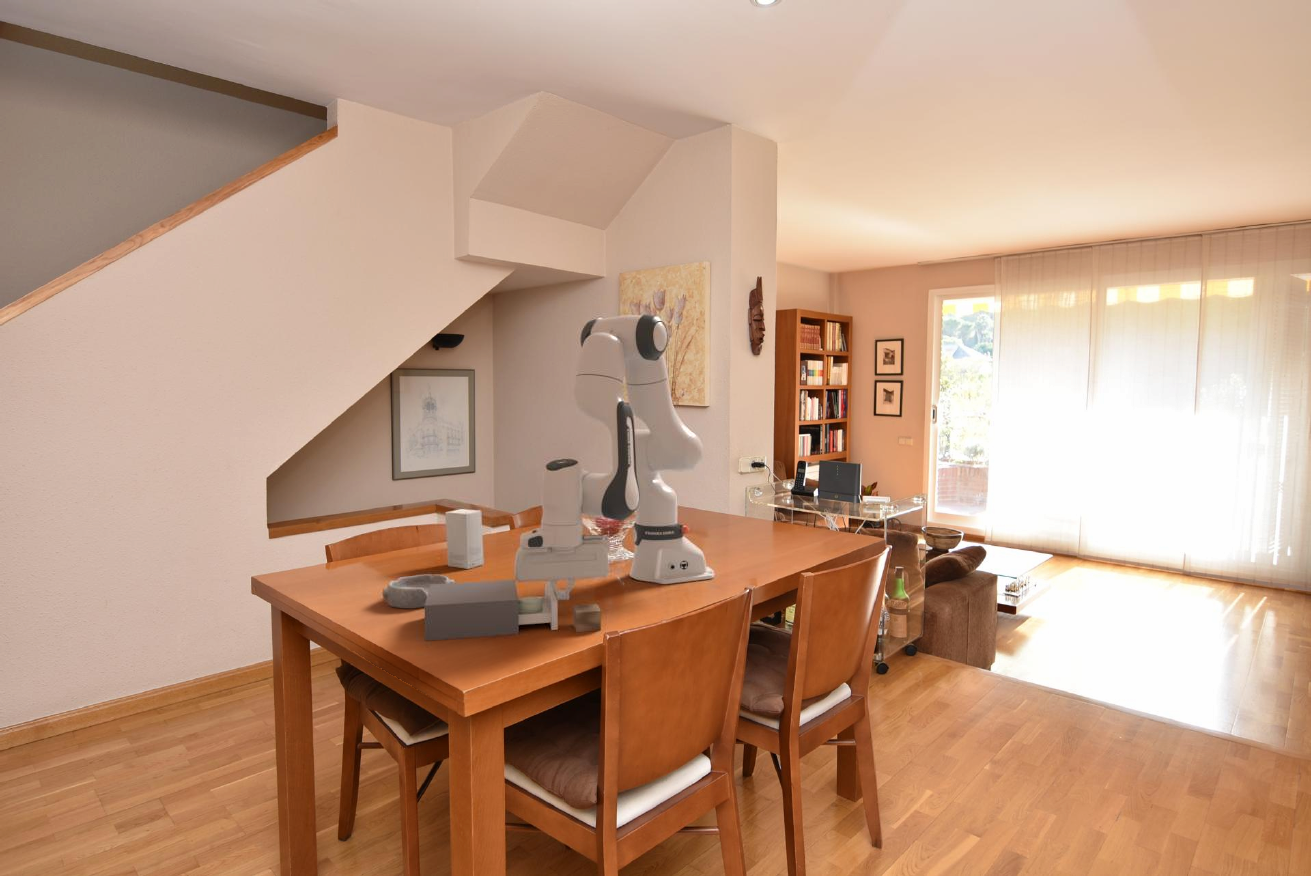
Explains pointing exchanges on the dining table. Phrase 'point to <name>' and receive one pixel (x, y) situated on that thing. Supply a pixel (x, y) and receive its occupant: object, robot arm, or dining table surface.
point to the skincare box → (464, 538)
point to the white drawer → (544, 610)
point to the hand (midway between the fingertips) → (562, 599)
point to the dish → (412, 590)
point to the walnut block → (586, 617)
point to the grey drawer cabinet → (471, 610)
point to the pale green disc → (529, 605)
